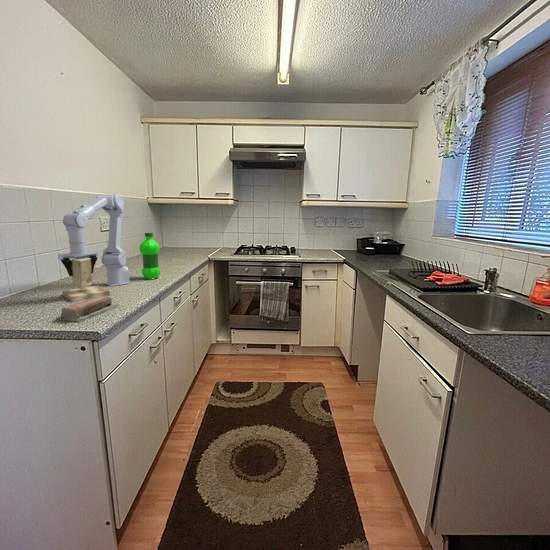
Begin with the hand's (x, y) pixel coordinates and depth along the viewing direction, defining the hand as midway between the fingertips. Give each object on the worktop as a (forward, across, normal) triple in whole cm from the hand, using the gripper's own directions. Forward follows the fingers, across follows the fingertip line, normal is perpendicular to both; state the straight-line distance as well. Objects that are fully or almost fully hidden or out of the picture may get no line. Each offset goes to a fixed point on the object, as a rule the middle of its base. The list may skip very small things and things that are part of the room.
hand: (81, 274), depth 125 cm
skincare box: (+5, 0, 0) cm, 5 cm away
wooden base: (+9, -1, 0) cm, 9 cm away
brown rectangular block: (+10, +8, +26) cm, 29 cm away
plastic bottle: (+10, -38, -10) cm, 41 cm away
